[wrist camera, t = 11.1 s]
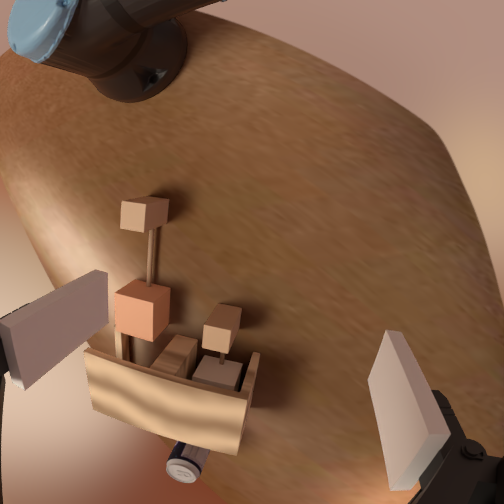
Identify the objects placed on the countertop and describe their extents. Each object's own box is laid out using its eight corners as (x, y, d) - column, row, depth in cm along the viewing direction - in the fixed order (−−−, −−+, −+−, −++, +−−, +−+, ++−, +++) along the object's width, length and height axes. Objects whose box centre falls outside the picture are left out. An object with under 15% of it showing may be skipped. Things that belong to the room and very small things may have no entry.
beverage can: (185, 413, 52) (161, 459, 40) (216, 419, 51) (196, 468, 40) (188, 434, 53) (166, 479, 42) (217, 440, 52) (199, 487, 41)
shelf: (121, 319, 49) (83, 351, 38) (260, 353, 46) (247, 400, 36) (124, 373, 52) (93, 409, 41) (249, 407, 49) (236, 455, 39)
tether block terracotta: (139, 195, 44) (113, 199, 37) (177, 200, 43) (155, 205, 36) (134, 314, 49) (112, 333, 42) (168, 323, 48) (149, 345, 41)
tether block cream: (209, 301, 46) (193, 322, 39) (251, 309, 45) (241, 332, 38) (202, 384, 50) (188, 410, 43) (238, 392, 49) (228, 420, 42)
